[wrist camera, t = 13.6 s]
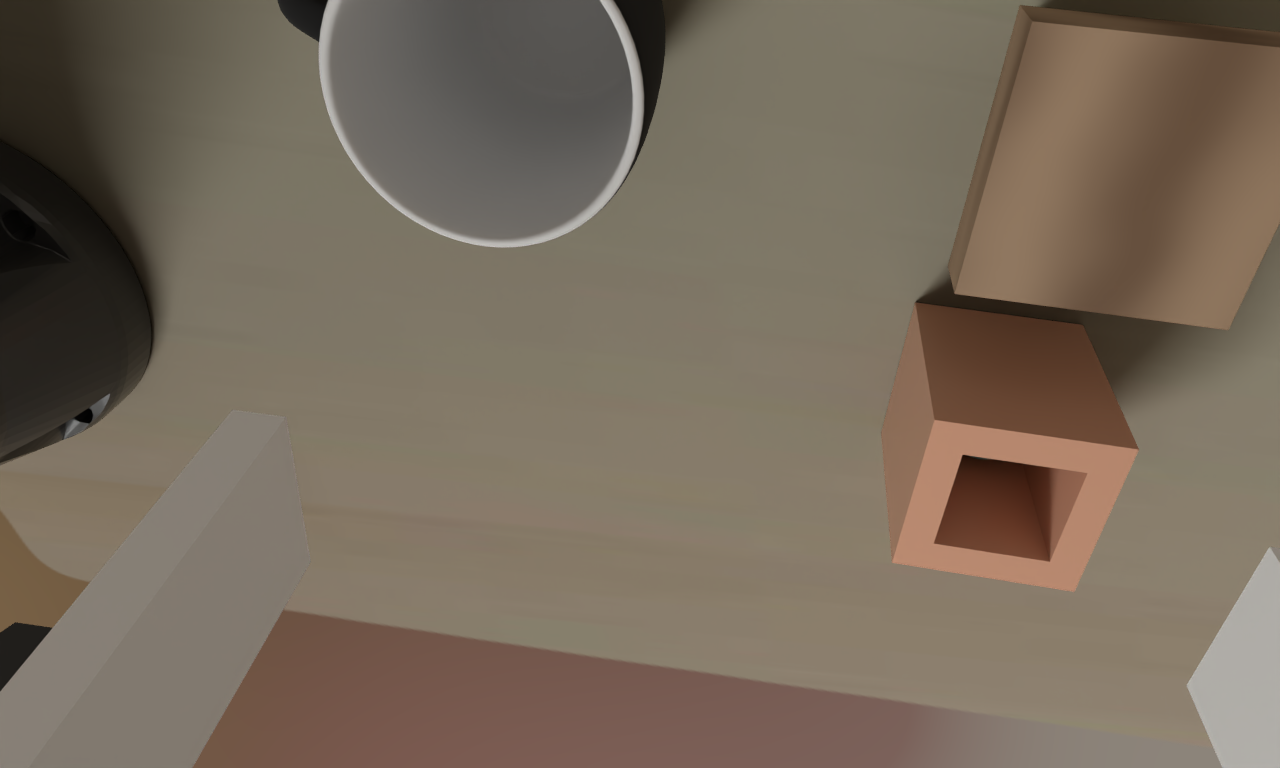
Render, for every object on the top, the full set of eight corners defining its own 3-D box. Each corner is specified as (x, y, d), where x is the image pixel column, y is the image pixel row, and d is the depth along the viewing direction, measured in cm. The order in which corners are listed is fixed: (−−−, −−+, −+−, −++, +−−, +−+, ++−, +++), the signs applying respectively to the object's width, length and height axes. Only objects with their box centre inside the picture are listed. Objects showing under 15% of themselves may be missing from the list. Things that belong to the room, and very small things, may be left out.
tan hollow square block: (880, 432, 41) (892, 562, 35) (915, 302, 38) (934, 420, 31) (1033, 455, 41) (1074, 591, 34) (1082, 324, 37) (1139, 449, 30)
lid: (947, 265, 32) (954, 293, 31) (1019, 5, 28) (1032, 21, 26) (1207, 299, 32) (1228, 330, 30) (1326, 36, 27) (1359, 55, 25)
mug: (723, -90, 31) (687, -31, 23) (654, 164, 36) (603, 288, 28) (369, -199, 31) (201, -180, 23) (349, 70, 36) (206, 167, 28)
